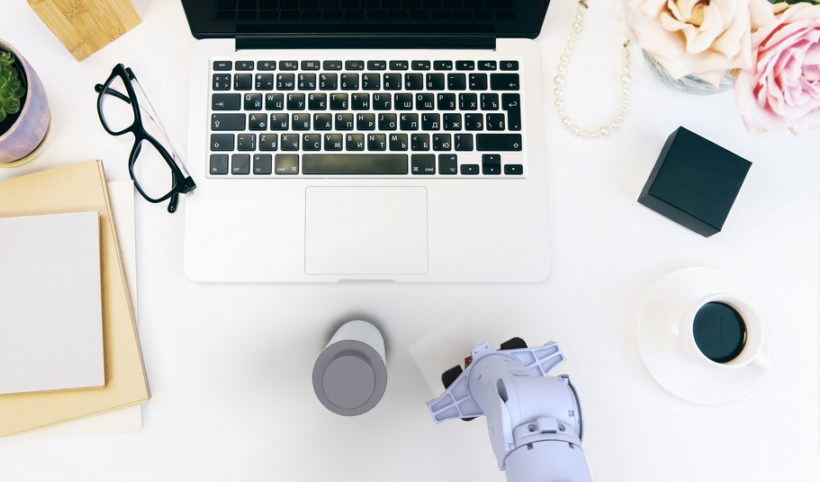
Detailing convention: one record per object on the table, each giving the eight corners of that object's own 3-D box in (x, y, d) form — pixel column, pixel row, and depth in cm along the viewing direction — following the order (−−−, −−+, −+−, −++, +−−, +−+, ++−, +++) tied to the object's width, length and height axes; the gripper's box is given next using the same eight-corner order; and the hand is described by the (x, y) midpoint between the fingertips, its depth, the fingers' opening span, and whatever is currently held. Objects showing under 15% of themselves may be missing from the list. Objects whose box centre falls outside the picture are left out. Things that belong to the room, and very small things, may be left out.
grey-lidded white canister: (393, 359, 72) (401, 401, 48) (345, 382, 72) (329, 436, 48) (370, 311, 72) (366, 329, 48) (323, 334, 72) (296, 363, 48)
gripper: (556, 317, 55) (521, 309, 68) (416, 386, 54) (409, 364, 68) (592, 387, 54) (549, 365, 68) (451, 457, 54) (436, 421, 67)
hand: (480, 368), depth 68 cm, fingers closed on dice, 4 cm apart
